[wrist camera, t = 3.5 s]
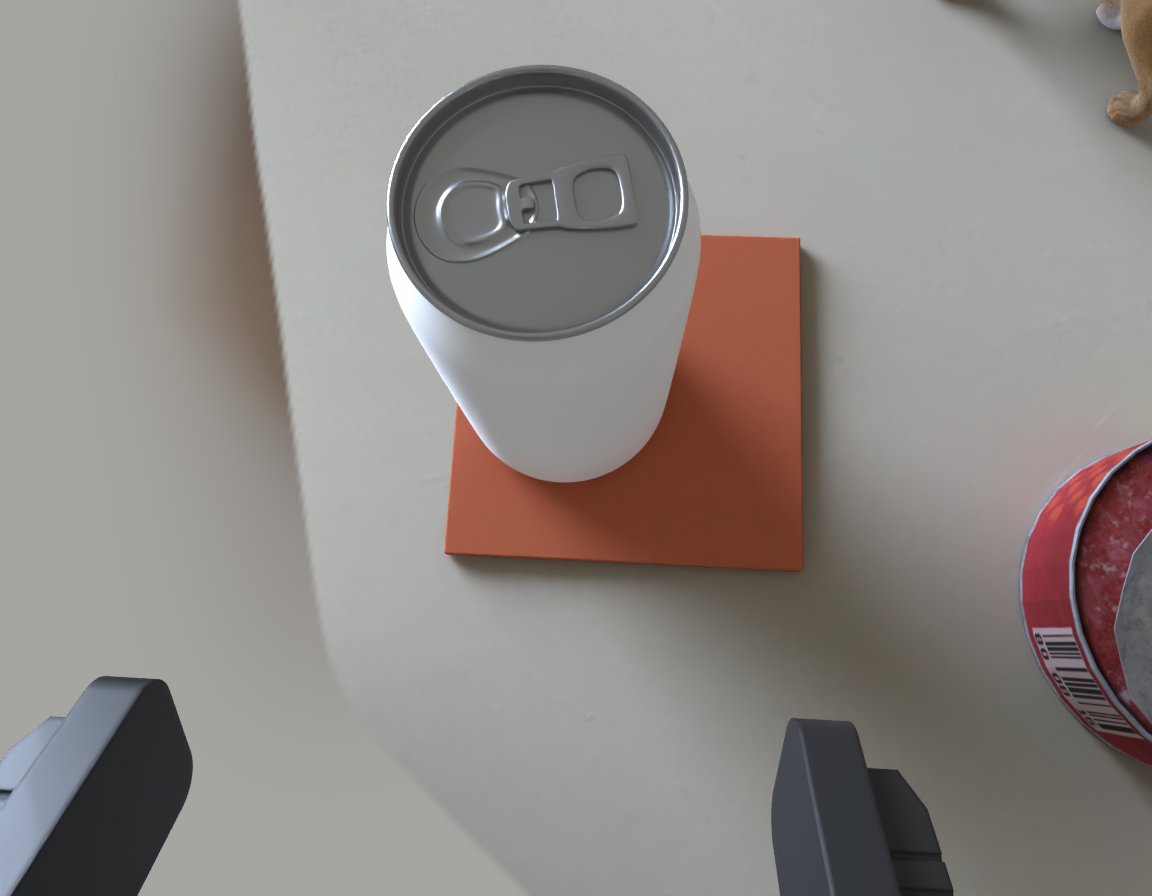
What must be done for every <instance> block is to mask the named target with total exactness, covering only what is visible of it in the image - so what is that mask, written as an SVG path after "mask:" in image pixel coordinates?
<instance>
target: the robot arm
mask: <svg viewBox="0 0 1152 896" xmlns="http://www.w3.org/2000/svg"><path fill="white" fill-rule="evenodd" d="M192 770H193V761H192V755H191V751H190V748H189V745H188V742H187V740H186V736H185V734H184V731H183V728H182V725H181V722H180V719H179V716H178V713H177V710H176V707H175V705H174V702H173V699H172V696H171V693H170V690H169V688H168V686H167V684H166V683H165V682H164V681H162V680H160V679H146V678H128V677H111V676H102V677H99V678H97V679H96V680H94V681H93V682H92V683H91V684H90V685H89V686H88V687H87V688H86V690H85V691H84V692H83V694H82V695H81V697H80V698H79V699H78V701H77V702H76V703H75V705H74V706H73V708H72V709H71V711H70V712H69V714H68V715H67V716H66V717H49V718H48V719H47V720H46V721H45V722H43V723H42V724H41V725H39V726H38V727H37V728H36V729H34V730H33V731H32V732H31V733H29V734H28V735H27V736H26V737H24V738H23V739H22V740H20V741H19V742H18V743H17V744H16V745H14V746H13V747H12V748H11V749H9V751H8V752H7V753H6V755H5V756H4V757H3V759H2V760H1V761H0V896H137V895H138V893H139V891H140V889H141V887H142V885H143V883H144V882H145V880H146V878H147V876H148V874H149V872H150V870H151V868H152V866H153V864H154V862H155V860H156V858H157V856H158V854H159V852H160V850H161V848H162V846H163V844H164V842H165V840H166V839H167V837H168V835H169V833H170V830H171V829H172V827H173V825H174V823H175V821H176V819H177V817H178V815H179V813H180V811H181V809H182V807H183V805H184V803H185V800H186V798H187V795H188V792H189V789H190V784H191V779H192ZM771 823H772V839H773V848H774V855H775V862H776V869H777V875H778V882H779V889H780V896H953V891H954V890H953V887H952V884H951V881H950V877H949V874H948V871H947V868H946V865H945V862H942V858H941V854H942V853H941V850H940V847H939V843H938V840H937V837H936V834H935V831H934V828H933V825H932V822H931V819H930V816H929V813H928V809H927V808H926V807H925V805H924V804H923V803H922V801H921V800H920V799H919V797H918V796H917V795H916V793H915V792H914V791H913V789H912V788H911V787H910V786H909V784H908V783H907V782H906V780H905V779H904V778H903V776H902V775H901V774H900V772H899V771H898V770H891V769H874V768H867V766H866V762H865V759H864V755H863V751H862V747H861V744H860V740H859V736H858V733H857V731H856V728H855V726H854V725H853V723H852V722H849V721H833V720H816V719H798V718H791V719H790V720H789V722H788V725H787V729H786V734H785V739H784V743H783V748H782V753H781V757H780V762H779V767H778V771H777V776H776V781H775V785H774V790H773V796H772V810H771Z"/></svg>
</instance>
